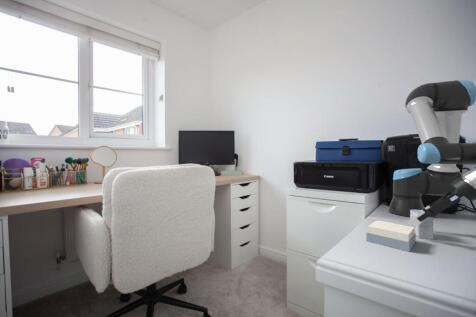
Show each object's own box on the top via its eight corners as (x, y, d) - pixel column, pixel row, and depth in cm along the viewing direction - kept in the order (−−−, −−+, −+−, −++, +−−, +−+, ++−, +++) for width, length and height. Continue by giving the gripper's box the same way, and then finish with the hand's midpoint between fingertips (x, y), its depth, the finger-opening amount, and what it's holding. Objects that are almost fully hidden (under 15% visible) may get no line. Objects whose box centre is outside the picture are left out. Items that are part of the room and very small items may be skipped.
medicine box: (433, 239, 77) (434, 215, 77) (418, 238, 78) (418, 213, 78) (423, 232, 84) (424, 210, 84) (409, 231, 85) (409, 209, 86)
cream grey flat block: (376, 233, 83) (376, 219, 83) (415, 241, 74) (415, 226, 74) (366, 240, 74) (366, 226, 74) (409, 251, 66) (409, 235, 66)
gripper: (487, 198, 61) (417, 237, 72) (482, 190, 79) (426, 223, 89) (460, 178, 65) (397, 218, 76) (461, 174, 82) (410, 208, 93)
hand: (413, 221), depth 83 cm, fingers open, 13 cm apart
